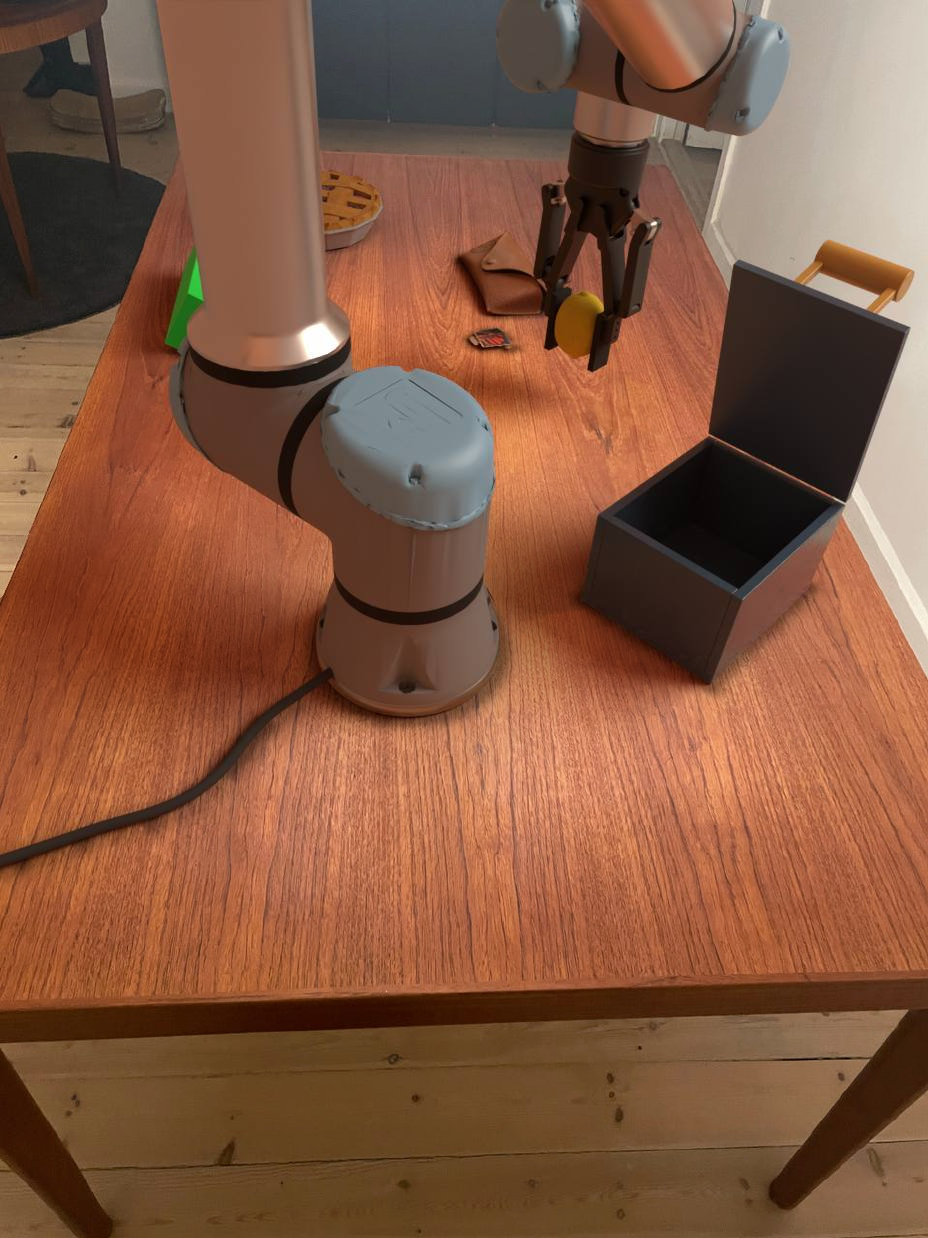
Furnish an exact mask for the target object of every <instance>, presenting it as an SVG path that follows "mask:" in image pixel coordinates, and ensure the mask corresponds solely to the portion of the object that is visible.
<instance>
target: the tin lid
mask: <svg viewBox="0 0 928 1238" xmlns="http://www.w3.org/2000/svg"><path fill="white" fill-rule="evenodd" d="M819 274H822V275H824V276H827V277H829V278H832V279H834V280H838V281H840V282H843V283H845V284H848V285H849V286H852V287H855V288H858V289H860V290H863V291H866V292H869V293H871V294H873V295H877V296H878V297H876V299H875V300H874V301H873V302H872V303H871V304H870V305H868V307H867V308H863V307H860V306H858V305H855V304H853V303H850V302H848V301H846V300H843V299H840V298H838V297H835V296H833V295H830V294H828V293H825V292H823V291H820V290H818V289H815V288H812V287H809V286H807V285H808V284H809V283H810V282H812V280H813V279H814V278H815V277H817V275H819ZM914 277H915V270H914V269H911V268H908V267H905V266H902V265H900V264H898V263H895V262H892V261H889V260H886V259H883V258H881V257H878V256H876V255H873V254H870V253H868V252H864V251H863V250H859V249H856V248H853V247H851V246H848V245H846V244H843V243H839V242H837V241H834V240H831V239H826V240H825V241H824V242H822V244H821V246H820V247H819V249H818V250H817V253H816V255H815V257H814V260H813V262H812V263H811V264H810V265H809V266H808V267H807V268H805V270H803V271H802V272H801V273H800V274H799V275H798V276H796V278H795V279H789V278H787V277H785V276H782V275H780V274H777V273H775V272H773V271H770V270H767V269H764V268H763V267H760V266H757V265H754V264H752V263H750V262H747V261H745V260H742V259H738V260H736V261H735V262H734V263H733V264H732V269H731V278H730V283H729V289H728V297H727V304H726V310H725V311H726V312H725V317H724V324H723V331H722V336H721V337H722V338H721V343H720V350H719V356H718V357H719V358H718V364H717V370H716V377H715V383H714V390H713V397H712V404H711V410H710V418H709V425H708V431H707V434H708V435H709V436H711V437H713V438H715V439H717V440H719V441H721V442H723V443H725V444H727V445H729V446H731V447H733V448H735V449H737V450H739V451H741V452H743V453H745V454H747V455H748V456H750V457H752V458H754V459H756V460H758V461H760V462H762V463H764V464H766V465H768V466H769V465H770V467H772V468H774V469H776V470H778V471H780V472H782V473H784V474H786V475H788V476H790V477H792V478H794V479H796V480H798V481H800V482H802V483H804V484H806V485H808V486H810V487H812V488H814V489H816V490H818V491H820V492H822V493H824V494H826V495H828V496H830V497H831V498H833V499H835V500H837V501H838V500H839V502H841V503H843V504H846V503H847V502H848V501H849V500H850V499H851V497H852V494H853V492H854V490H855V486H856V483H857V480H858V478H859V475H860V472H861V470H862V467H863V464H864V460H865V458H866V455H867V452H868V450H869V446H870V444H871V441H872V439H873V436H874V433H875V430H876V428H877V424H878V421H879V419H880V416H881V414H882V411H883V407H884V404H885V401H886V400H887V396H888V393H889V390H890V388H891V385H892V382H893V379H894V377H895V374H896V371H897V368H898V365H899V362H900V359H901V356H902V354H903V352H904V348H905V345H906V342H907V340H908V337H909V334H910V331H911V329H912V328H911V326H910V325H906V324H904V323H901V322H898V321H896V320H893V319H890V318H889V317H885V316H883V315H881V314H879V313H881V312H882V311H883V310H884V309H885V308H886V307H887V305H889V303H891V302H895V303H899V302H900V301H901V300H902V299H903V298H904V297H905V295H906V294H907V292H908V290H909V289H910V288H911V285H912V283H913V280H914Z"/></svg>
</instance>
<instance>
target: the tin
mask: <svg viewBox="0 0 928 1238" xmlns="http://www.w3.org/2000/svg"><path fill="white" fill-rule="evenodd" d="M845 508H846V503H844V502H842V501H840V500H839V501H838V500H837V499H836V498H834V497H832V496H830V495H828V494H826V493H824V492H822V491H820V490H818V489H816V488H814V487H812V486H810V485H808V484H806V483H804V482H802V481H800V480H798V479H796V478H794V477H792V476H790V475H788V474H787V473H785V472H783V471H781V470H779V469H777V468H775V467H773V466H771V465H770V466H769V464H767V463H765V462H763V461H761V460H759V459H757V458H755V457H753V456H751V455H749V454H747V453H745V452H743V451H741V450H739V449H737V448H735V447H733V446H731V445H729V444H727V443H725V442H723V441H721V440H719V439H718V438H716V437H714V436H712V435H708V436H706V437H705V438H704V439H702V440H701V441H699V442H697V444H695V445H694V446H692V447H691V448H690V449H688V450H687V451H685V452H684V453H683V454H681V455H680V456H678V457H677V458H675V459H674V460H673V461H671V462H670V463H669V464H667V465H666V466H665V467H663V468H662V469H660V470H658V471H657V472H656V473H655V474H653V475H652V476H651V477H649V478H647V479H646V480H645V481H643V482H642V483H641V484H639V485H637V486H636V487H635V488H633V489H632V490H631V491H629V492H628V493H627V494H625V495H623V496H622V497H621V498H619V499H618V500H616V501H615V502H614V503H612V504H611V505H609V506H608V507H607V508H605V509H603V511H601V512H600V513H598V514H597V517H596V523H595V527H594V532H593V537H592V542H591V546H590V552H589V556H588V562H587V567H586V572H585V577H584V582H583V586H582V591H581V595H580V601H581V602H583V603H584V604H586V605H588V606H589V607H591V608H592V609H594V610H595V611H597V612H598V613H600V614H601V615H603V616H604V617H606V618H607V619H609V620H610V621H612V622H613V623H615V624H616V625H618V626H619V627H621V628H623V629H624V630H625V631H627V632H628V633H631V634H632V635H633V636H634V637H636V638H637V639H639V640H641V641H642V642H644V643H646V644H647V645H648V646H650V647H652V648H653V649H655V650H656V651H658V652H659V653H661V654H662V655H664V656H665V657H667V658H668V659H670V660H671V661H673V662H675V663H676V664H677V665H679V666H680V667H682V668H684V669H685V670H687V671H688V672H690V673H691V674H692V675H694V676H696V677H697V678H699V679H700V680H701V681H703V682H705V683H706V684H708V685H712V684H713V682H715V681H716V680H717V679H718V678H719V677H720V676H721V675H722V674H723V673H724V672H725V671H726V670H727V669H728V668H729V667H730V666H731V665H732V664H733V663H734V662H735V661H736V660H737V659H738V658H739V657H741V655H743V653H744V652H746V651H747V649H749V648H750V646H752V645H753V644H754V642H756V640H757V639H759V638H760V637H761V636H762V635H763V634H764V633H765V632H766V631H767V630H768V629H769V628H770V627H771V626H773V624H775V622H776V621H777V620H778V619H779V618H780V617H781V616H782V615H783V614H784V613H785V612H786V611H788V610H789V608H791V606H792V605H794V603H795V602H796V601H798V599H800V597H801V596H802V595H804V593H806V592H807V591H808V590H809V589H810V587H811V584H812V582H813V579H814V577H815V575H816V573H817V570H818V568H819V565H820V564H821V562H822V560H823V557H824V555H825V552H826V551H827V548H828V546H829V543H830V542H831V539H832V537H833V535H834V533H835V531H836V528H837V526H838V524H839V521H840V519H841V517H842V515H843V512H844V510H845Z"/></svg>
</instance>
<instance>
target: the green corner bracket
mask: <svg viewBox="0 0 928 1238" xmlns="http://www.w3.org/2000/svg"><path fill="white" fill-rule="evenodd" d="M203 302H204V300H203V294H202V288H201V281H200V275H199V269H198V262H197V256H196V250H195V244H193V246H192V248H191V252H190V254H189V256H188V258H187V261H186V264H185V267H184V269H183V272H182V275H181V279H180V282H179V286H178V290H177V294H176V297H175V302H174V305H173V310H172V313H171V317H170V321H169V325H168V329H167V333H166V336H165V340H164V344H165V345H167V346H170V347H172V348H174V349H175V350H178V348H179V346H180V344H181V342H182V341H183V339H184V338H185V337H186V335H187V323H188V321H189V318H190V317H191V315H192V314H193V313H194V312H195V311H196V310H197V309H198V308H199V306H200V305H201V304H202V303H203Z"/></svg>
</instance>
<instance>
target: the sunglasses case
mask: <svg viewBox="0 0 928 1238" xmlns="http://www.w3.org/2000/svg"><path fill="white" fill-rule="evenodd" d="M458 258H459V260H460V261H461V262H462V263H463V265H464V266H465V267H466V269H467V271H468V273H469V274H470V275H471V277H472V279H473V281H474V283H475V284H476V287H477V289H478V291H479V294H480V296H481V298H482V300H483V304H484V307H485V309H486V311H487V312H488V313H490V314H493V315H502V316H531V315H532V316H533V315H534V316H535V315H540V314H542V313H544V307H545V300H546V292H547V289H546V287H545V284H544V282H543V281H542V280H541V279H536V278H535V277H534V275H533V270H534V265H532V263H531V261H530V259H529V258H528V256H527V255H526V253H525V252H524V251H523V249H522V247H521V246H520V244H518V242H517V241H516V239H515V238H514V237H513V235H512V233H511V232H510V231H509V230H508V229H505V230H504V231H503V233H502V234H499V235H498V236H496V237H494V238H492V239H490V240H488V241H486V242H484V243H481V244H480V245H477V246H476V247H474V248H471V249H470V250H469V251H466V252H464V253H462V254H459V255H458Z"/></svg>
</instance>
